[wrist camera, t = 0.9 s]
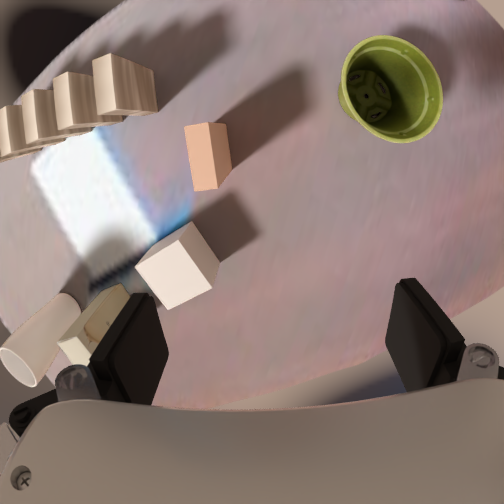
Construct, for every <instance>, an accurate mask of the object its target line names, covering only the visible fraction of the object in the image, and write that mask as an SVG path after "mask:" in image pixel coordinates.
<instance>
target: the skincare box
mask: <svg viewBox="0 0 504 504" xmlns="http://www.w3.org/2000/svg"><path fill="white" fill-rule="evenodd" d="M129 298H130V296H129V294H128V293H127V291H126V290H125V288H124V286H123V285H122V284H121V283H119V284H117V285H114V286H112V287H110V288H107V289H105V290H103V291H101V292H100V293H99V294H98V296H97V297H96V298H95V299H94V300H93V301H92V302H91V303H90V304H89V306H88V307H87V308H86V309H85V310H84V311H83V312H82V313H81V315H80V316H79V317H78V318H77V319H76V320H75V322H74V323H73V324H72V325H71V326H70V327H69V329H68V330H67V331H66V332H65V333H64V335H63V336H62V337H61V338H60V339H59V340H58V342H57V345H58V346H59V347H60V349H61V350H62V351H63V352H64V354H65V355H66V356H67V358H68V359H69V360H70V361H71V363H72V364H73V365H74V364H82V365H85V366H87V365H88V364H89V362H90V361H89V358H90V357H91V355H92V353H93V352H94V350H95V349H96V347H97V346H98V344H99V343H100V341H101V340H102V338H103V336H104V335H105V333H106V332H107V330H108V329H109V327H110V326H111V324H112V323H113V321H114V320H115V319H116V317H117V316H118V314H119V313H120V311H121V310H122V308H123V307H124V305H125V304H126V303H127V301H128V300H129Z"/></svg>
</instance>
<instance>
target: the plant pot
mask: <svg viewBox="0 0 504 504" xmlns="http://www.w3.org/2000/svg"><path fill="white" fill-rule="evenodd" d="M355 75H360V77H359V78H356V79H354V80H352V81H349V79H350V77H352V76H355ZM378 83H381V84H382V86H383V87H384V89H385V92H386V93H385V94H384V93H383V91H382V89H381V87H380V86H379V84H378ZM365 94H368V96H369V97H368V98H365V97H364V95H365ZM338 97H339V101H340V104H341V106H342V108H343V110H344V111H345V112H346V113H347V114H348V115H349V116H350V117H351V118H352V119H354V120H356V121H358V122H359V123H360V124H361V125H362V126H363V127H364V128H365V129H367V130H368V131H369V132H371V133H372V134H374V135H375V136H377V137H379V138H381V139H384V140H387V141H390V142H395V143H409V142H413V141H416V140H419V139H421V138H423V137H424V136H425V135H427V134H428V133H429V132H430V131H431V130H432V129H433V128H434V126H435V125H436V123H437V122H438V120H439V117H440V115H441V111H442V106H443V93H442V86H441V82H440V79H439V76H438V74H437V72H436V70H435V68H434V66H433V65H432V63H431V61H430V60H429V59H428V58H427V57H426V56H425V54H424V53H423V52H422V51H421V50H419V49H418V48H417V47H415V46H414V45H412V44H411V43H409V42H408V41H406V40H403V39H401V38H398V37H394V36H388V35H378V36H373V37H369V38H367V39H365V40H363V41H361V42H359V43H358V44H357V45H356V46H355V47H354V48H353V49H352V50H351V51H350V52H349V54H348V55H347V57H346V59H345V61H344V64H343V67H342V73H341V82H340V85H339V90H338ZM379 112H381V113H380V115H379V116H378V117H376V118H371V115H374V114H377V113H379Z"/></svg>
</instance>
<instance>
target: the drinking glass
mask: <svg viewBox="0 0 504 504" xmlns="http://www.w3.org/2000/svg"><path fill="white" fill-rule="evenodd" d="M80 315H81V310H80V307H79V305H78V303H77V302H76V300H75V299H74V298H73V297H71V296H70V295H68V294H66V293H59V294H57V295H56V296H55V297H54V298H53V299H52V300H51V301H49V302H48V303H47V304H46V305H45V306H43V307H42V308H41V309H40V310H39V311H37V312H36V313H35V314H34V315H33V316H31V317H30V318H29V319H28V320H27V321H25V322H24V323H23V324H22V325H21V326H20V327H18V328H17V329H16V330H15V331H14V332H13V333H12V334H11V336H10V337H9V338H8V339H7V340H6V341H5V343H4V344H3V345H2V347H1V348H0V358H1V360H2V362H3V364H4V366H5V367H6V369H7V370H8V371H9V372H10V373H11V374H12V375H13V376H14V377H15V378H16V379H17V380H18V381H20V382H21V383H23V384H24V385H27V386H29V387H35V386H36V385H37V384H38V383H39V381H40V380H41V378H43V376H44V375H45V373H46V372H47V371H48V369H49V368H50V366H51V364H52V363H53V361H54V359H55V357H56V356H57V354H58V352H59V350H60V347H59V346H58V345H57V342H58V340H59V339H60V338H61V337H62V336H63V335H64V333H65V332H66V331H67V330H68V329H69V327H70V326H71V325H72V324H73V323H74V322H75V320H76V319H77V318H78V317H79V316H80Z"/></svg>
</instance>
